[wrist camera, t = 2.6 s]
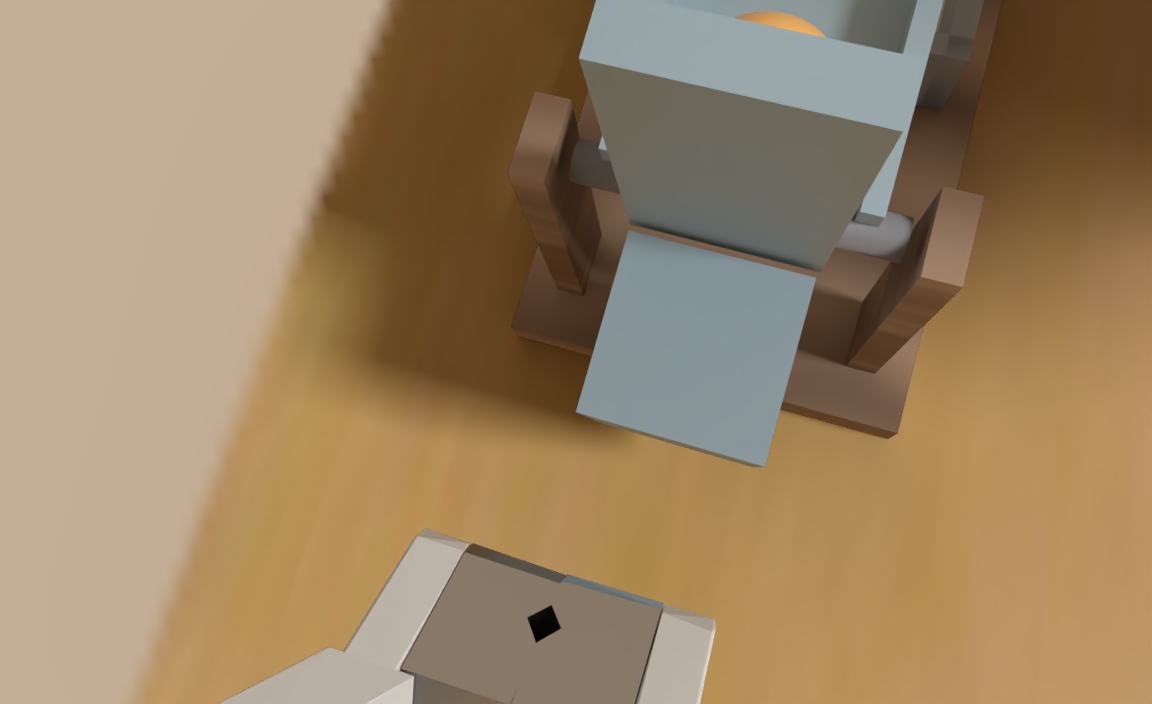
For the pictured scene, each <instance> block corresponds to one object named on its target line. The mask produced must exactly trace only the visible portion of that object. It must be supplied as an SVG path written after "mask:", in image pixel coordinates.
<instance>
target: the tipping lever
mask: <svg viewBox="0 0 1152 704" xmlns="http://www.w3.org/2000/svg"><path fill="white" fill-rule="evenodd" d="M943 1H944V0H596V2H595V6H594V9H593V12H592V16H591V19H590V22H589V26H588V29H587V32H586V36H585V39H584V42H583V46H582V49H581V52H580V56H579V61H580V64H581V68H582V71H583V74H584V77H585V81H586V84H587V87H588V90H589V94H590V97H591V100H592V103H593V106H594V110H595V113H596V116H597V119H598V123H599V126H600V129H601V132H602V138H601V142H597V141H592V140H588V139H584V138H580V139H579V140H578V142H577V144H576V146H575V149H574V152H573V155H572V159H571V164H570V171H569V180H570V182H572V183H576V184H580V185H584V186H588V187H593V188H597V189H601V190H605V191H609V192H613V193H617V194H621V197H622V200H623V203H624V207H625V210H626V213H627V216H628V220H629V223H630V224H631V225H635V226H639V227H643V228H647V229H651V230H655V231H659V232H662V233H666V234H670V235H674V236H678V237H682V238H686V239H690V240H694V241H698V242H702V243H706V244H710V245H714V246H718V247H722V248H726V249H730V250H734V251H738V252H741V253H745V254H749V255H753V256H757V257H761V258H765V259H769V260H773V261H777V262H781V263H785V264H789V265H793V266H797V267H801V268H805V269H809V270H813V271H817V272H821V271H822V269H823V267H824V265H825V264H826V262H827V260H828V259H829V257H830V255H831V254H832V252H833V250H834V248H838V249H842V250H846V251H850V252H854V253H858V254H862V255H866V256H870V257H874V258H878V259H882V260H887V261H891V262H895V263H900V262H901V261H902V259H903V257H904V254H905V252H906V249H907V246H908V243H909V240H910V236H911V232H912V228H913V222H914V218H913V217H909V216H905V215H901V214H897V213H892V212H888V211H887V209H888V205H889V202H890V198H891V194H892V191H893V187H894V183H895V179H896V176H897V172H898V168H899V165H900V161H901V157H902V153H903V150H904V146H905V142H906V138H907V135H908V131H909V127H910V124H911V120H912V116H913V112H914V109H915V105H916V101H917V98H918V94H919V90H920V86H921V83H922V79H923V75H924V72H925V68H926V64H927V60H928V57H929V53H930V49H931V45H932V42H933V38H934V34H935V31H936V27H937V23H938V19H939V16H940V12H941V8H942V5H943ZM757 11H776V12H783V13H787V14H791V15H794V16H797V17H799V18H802V19H804V20H805V21H807V22H809V23H811V24H812V25H814V26H815V27H816V28H817V29H819V30H820V31H821V32H822V33H823V34H824V35H825V36H826V37H827V38H825V37H820V36H816V35H811V34H806V33H802V32H797V31H792V30H788V29H783V28H778V27H773V26H769V25H764V24H759V23H755V22H750V21H745V20H740V19H736V18H734V17H737V16H739V15H743V14H746V13H750V12H757ZM815 281H816V278H815V277H811V276H807V275H803V274H799V273H795V272H791V271H787V270H783V269H779V268H775V267H771V266H767V265H764V264H760V263H756V262H752V261H748V260H744V259H740V258H736V257H732V256H728V255H724V254H720V253H716V252H712V251H709V250H705V249H701V248H697V247H693V246H689V245H685V244H681V243H677V242H673V241H669V240H665V239H661V238H657V237H653V236H650V235H646V234H642V233H638V232H634V231H630V230H629V231H628V234H627V238H626V241H625V245H624V248H623V251H622V255H621V258H620V262H619V265H618V269H617V272H616V275H615V279H614V282H613V286H612V289H611V293H610V296H609V300H608V303H607V306H606V310H605V313H604V317H603V320H602V324H601V327H600V330H599V334H598V337H597V341H596V344H595V348H594V351H593V355H592V358H591V361H590V365H589V368H588V372H587V375H586V379H585V382H584V385H583V389H582V392H581V396H580V399H579V403H578V406H577V409H576V413H579V414H581V415H583V416H586V417H588V418H590V419H593V420H595V421H597V422H600V423H603V424H606V425H610V426H613V427H616V428H620V429H623V430H627V431H630V432H634V433H637V434H641V435H644V436H647V437H651V438H654V439H658V440H661V441H665V442H668V443H672V444H675V445H679V446H682V447H685V448H689V449H692V450H696V451H699V452H703V453H706V454H710V455H713V456H716V457H720V458H723V459H727V460H730V461H734V462H737V463H741V464H744V465H748V466H751V467H765V464H766V460H767V456H768V453H769V449H770V445H771V442H772V438H773V434H774V431H775V427H776V423H777V420H778V416H779V412H780V409H781V405H782V401H783V398H784V394H785V390H786V387H787V383H788V379H789V376H790V372H791V368H792V365H793V361H794V357H795V354H796V350H797V347H798V343H799V339H800V336H801V332H802V328H803V325H804V321H805V317H806V314H807V310H808V306H809V303H810V299H811V295H812V292H813V288H814V284H815Z"/></svg>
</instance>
